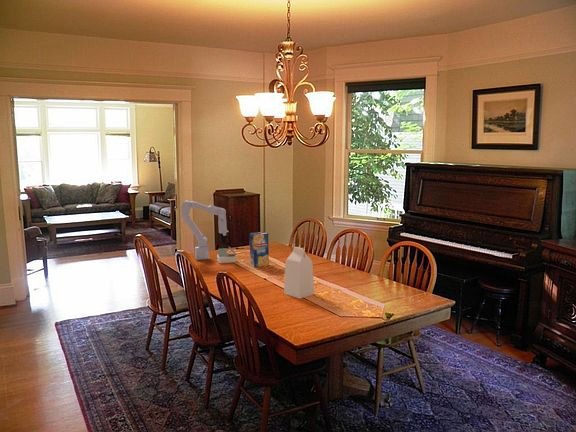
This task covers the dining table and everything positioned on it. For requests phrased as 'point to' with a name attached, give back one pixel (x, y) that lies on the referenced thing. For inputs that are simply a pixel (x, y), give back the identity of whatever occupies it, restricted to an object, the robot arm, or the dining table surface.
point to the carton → (226, 258)
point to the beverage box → (259, 249)
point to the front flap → (222, 252)
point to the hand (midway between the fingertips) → (223, 243)
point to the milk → (298, 274)
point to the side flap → (232, 250)
